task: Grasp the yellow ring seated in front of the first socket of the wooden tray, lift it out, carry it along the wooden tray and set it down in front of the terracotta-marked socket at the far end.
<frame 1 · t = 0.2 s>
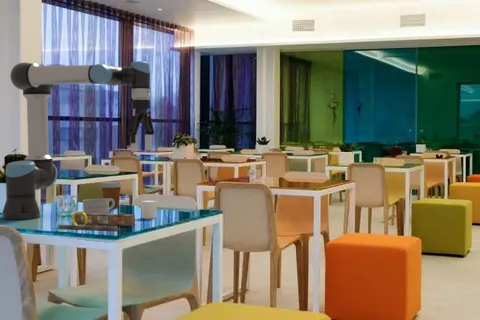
hand: (141, 150, 294), 28 cm above the table, fingers open, 13 cm apart
teacup: (99, 218, 296), on the table
yellow ring: (80, 226, 272), on the table
white tapered cup: (149, 218, 295), on the table
disposable coffee cup: (111, 208, 328), on the table
wooden tray: (104, 224, 276), on the table
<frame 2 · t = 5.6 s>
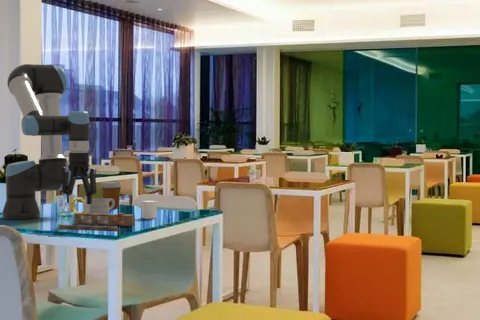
hand: (79, 212, 272), 5 cm above the table, fingers closed on yellow ring, 6 cm apart
yellow ring: (79, 213, 272), point 5 cm above the table, touching gripper
everything else where it was.
when the fingers open (0 cm above the table, at t = 9.8 s): yellow ring stays where it is, on the table.
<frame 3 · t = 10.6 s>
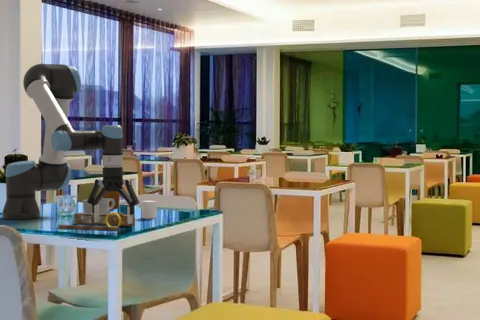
hand: (113, 222, 268), 2 cm above the table, fingers open, 13 cm apart
yellow ring: (113, 228, 268), on the table
everything else where it was.
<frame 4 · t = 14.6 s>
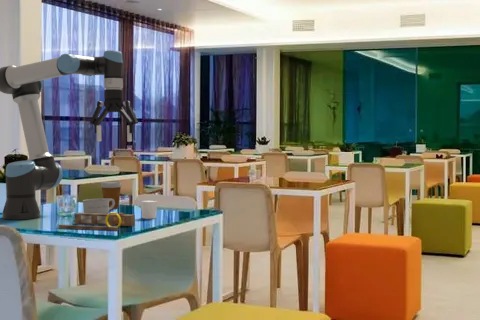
hand: (114, 141, 290), 32 cm above the table, fingers open, 13 cm apart
nothing on the table moved.
at the end: yellow ring inside the target area on the wooden tray (0.4 cm from its centre), point 0.0 cm above the wooden tray's base; yellow ring tilted 0°; the gripper is holding nothing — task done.
